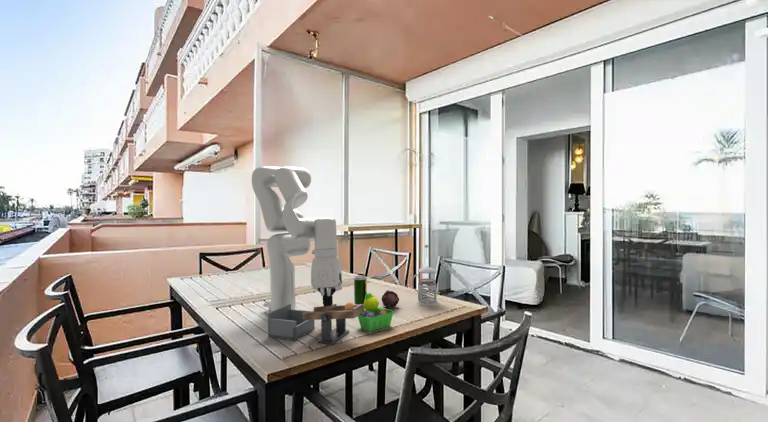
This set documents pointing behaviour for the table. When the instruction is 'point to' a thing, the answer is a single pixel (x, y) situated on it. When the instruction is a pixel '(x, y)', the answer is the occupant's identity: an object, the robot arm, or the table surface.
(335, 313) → the lever
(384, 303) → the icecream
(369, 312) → the fruit basket
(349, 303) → the ball
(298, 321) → the bin
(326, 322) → the lever stand
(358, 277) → the beer can
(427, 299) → the french press
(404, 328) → the table surface
